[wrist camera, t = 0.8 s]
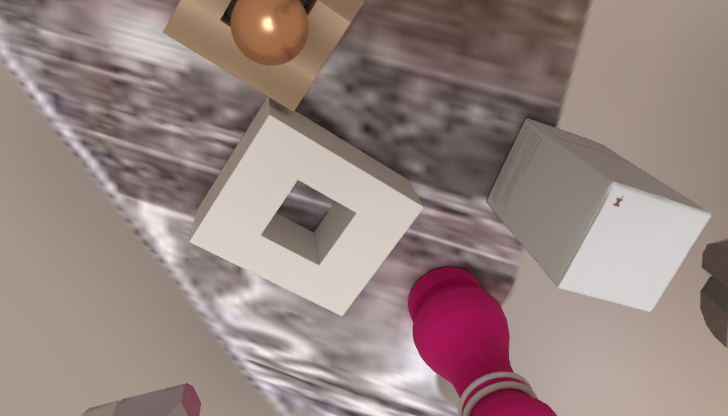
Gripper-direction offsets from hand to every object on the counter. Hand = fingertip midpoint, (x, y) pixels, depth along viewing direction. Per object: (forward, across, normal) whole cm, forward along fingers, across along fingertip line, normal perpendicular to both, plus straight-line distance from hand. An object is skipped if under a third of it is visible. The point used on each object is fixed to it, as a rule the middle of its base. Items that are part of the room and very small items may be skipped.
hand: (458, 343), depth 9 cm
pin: (+34, +2, -2) cm, 34 cm away
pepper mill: (+34, -6, +24) cm, 41 cm away
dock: (+34, +3, +11) cm, 35 cm away
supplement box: (+34, -15, +15) cm, 40 cm away
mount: (+33, +2, -2) cm, 34 cm away
